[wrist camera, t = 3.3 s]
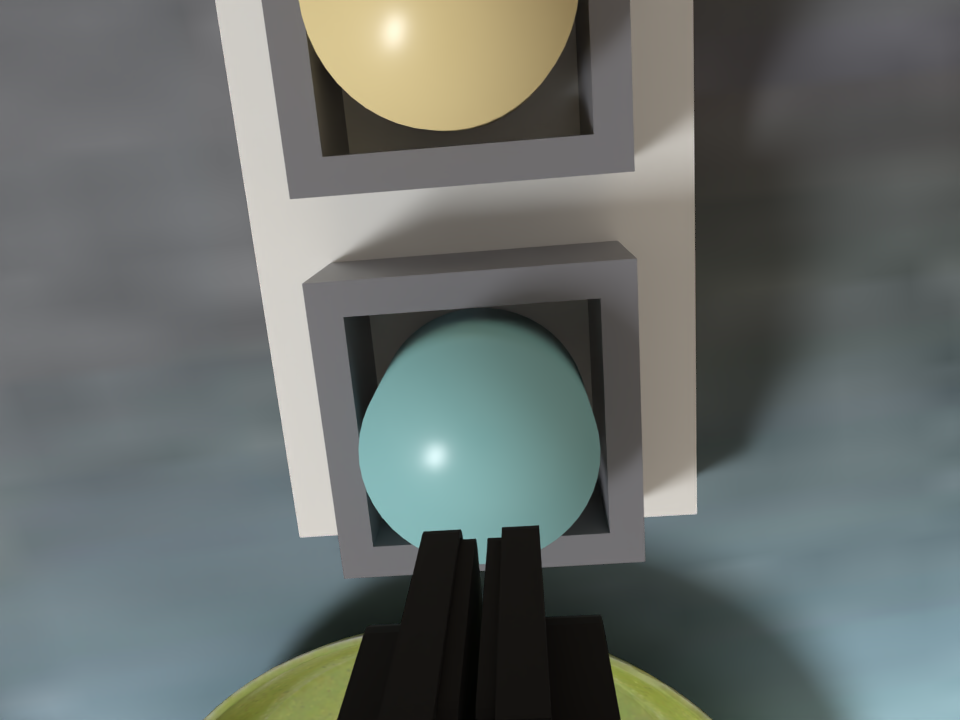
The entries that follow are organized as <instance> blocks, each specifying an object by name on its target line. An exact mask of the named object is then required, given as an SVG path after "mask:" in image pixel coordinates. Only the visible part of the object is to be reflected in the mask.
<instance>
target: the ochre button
mask: <svg viewBox="0 0 960 720" xmlns="http://www.w3.org/2000/svg"><path fill="white" fill-rule="evenodd" d="M299 4H300V10H301V15H302V18H303V21H304V24H305V28H306V31H307V34H308V36H309V38H310V41H311V43H312V45H313V47H314V49H315V52H316V53H317V55H318V57H319V58H320V60H321V62H322V63H323V65H324V66H325V68H326V69H327V71H328V72H329V73H330V75H331V76H332V77H333V78H334V80H335V81H336V82H337V83H338V84H339V85H340V86H341V87H342V88H343V89H344V90H345V91H346V92H347V93H348V94H349V95H350V96H351V97H352V98H353V99H355V100H356V101H357V102H359V103H360V104H361V105H363V106H364V107H365V108H367V109H369V110H370V111H372V112H374V113H376V114H377V115H379V116H381V117H383V118H386V119H388V120H390V121H393V122H395V123H398V124H401V125H405V126H409V127H413V128H419V129H427V130H436V131H463V130H470V129H475V128H478V127H482V126H485V125H488V124H491V123H493V122H495V121H497V120H500V119H502V118H503V117H505V116H507V115H508V114H510V113H511V112H513V111H515V110H516V109H517V108H518V107H520V106H521V105H522V104H523V103H524V102H526V101H527V100H528V99H529V98H530V97H531V96H532V94H533V93H534V92H535V91H536V90H537V89H538V88H539V86H540V85H541V84H542V82H543V81H544V79H545V78H546V77H547V75H548V74H549V72H550V71H551V70H552V68H553V67H554V65H555V64H556V62H557V60H558V58H559V56H560V55H561V53H562V51H563V49H564V47H565V45H566V42H567V40H568V37H569V35H570V32H571V30H572V26H573V23H574V19H575V15H576V11H577V5H578V0H299Z"/></svg>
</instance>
